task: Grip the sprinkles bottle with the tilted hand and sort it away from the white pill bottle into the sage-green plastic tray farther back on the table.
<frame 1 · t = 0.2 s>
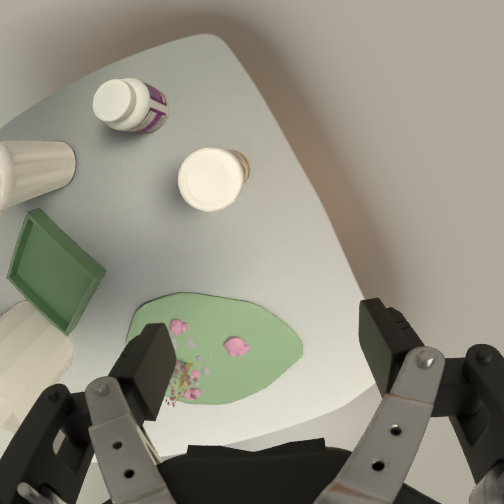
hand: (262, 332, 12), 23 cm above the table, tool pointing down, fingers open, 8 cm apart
container: (41, 335, 42), on the table
green tray: (55, 271, 37), on the table
plant: (209, 351, 40), on the table
cup: (60, 164, 33), on the table
pill bottle: (149, 111, 31), on the table
sprinkles bottle: (229, 169, 33), on the table
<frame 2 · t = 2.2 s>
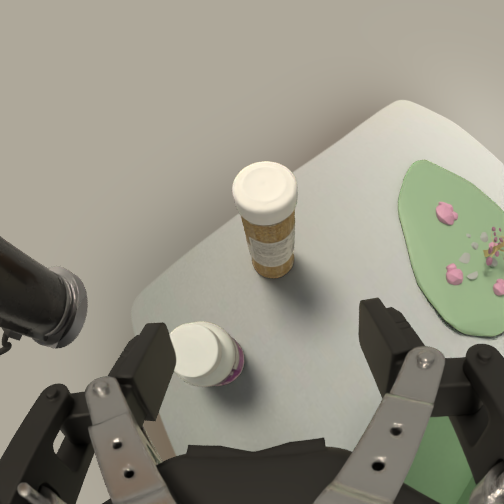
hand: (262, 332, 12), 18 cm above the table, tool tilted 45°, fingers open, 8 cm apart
green tray: (438, 458, 21), on the table
plant: (464, 243, 31), on the table
pill bottle: (219, 360, 29), on the table
sprinkles bottle: (273, 260, 32), on the table
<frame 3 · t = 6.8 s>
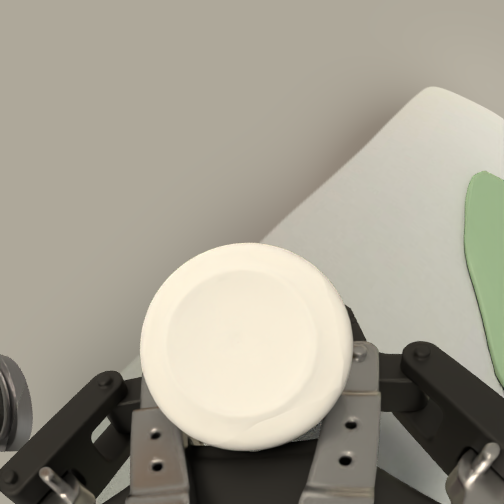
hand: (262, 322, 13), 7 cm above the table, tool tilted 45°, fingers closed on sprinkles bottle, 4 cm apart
sprinkles bottle: (276, 373, 18), on the table, touching gripper
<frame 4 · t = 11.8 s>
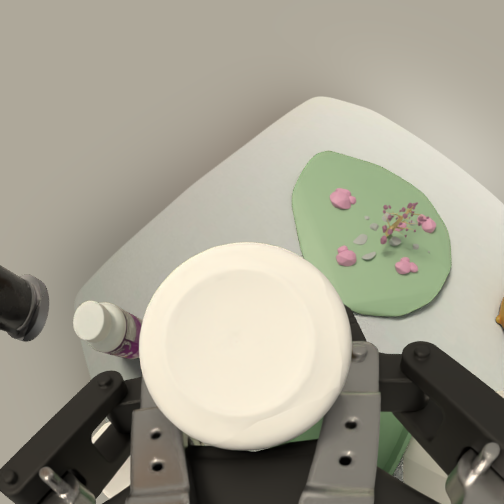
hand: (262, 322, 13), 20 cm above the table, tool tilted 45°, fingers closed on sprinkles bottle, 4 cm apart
container: (454, 450, 22), on the table
green tray: (340, 439, 26), on the table
plant: (366, 225, 36), on the table
cup: (195, 441, 28), on the table
pill bottle: (133, 338, 34), on the table
sprinkles bottle: (276, 373, 18), point 13 cm above the table, touching gripper
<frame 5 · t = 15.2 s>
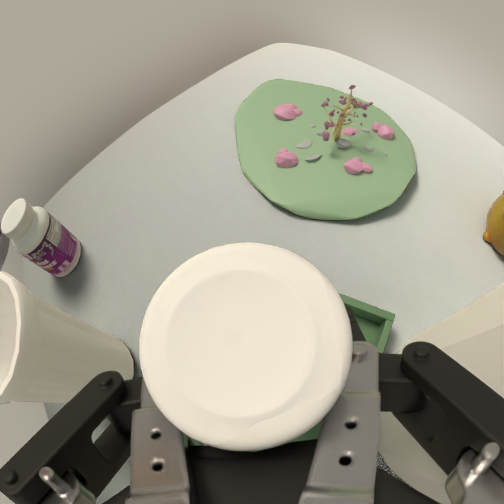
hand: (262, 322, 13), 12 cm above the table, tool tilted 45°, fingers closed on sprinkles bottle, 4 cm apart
container: (446, 405, 19), on the table
green tray: (279, 373, 22), on the table
plant: (314, 136, 33), on the table
cup: (109, 368, 24), on the table
pill bottle: (67, 258, 30), on the table
sprinkles bottle: (276, 373, 18), point 5 cm above the table, touching gripper
when the fingers open (7 cm above the table, at t = 16.9 s): sprinkles bottle stays where it is, resting on green tray.
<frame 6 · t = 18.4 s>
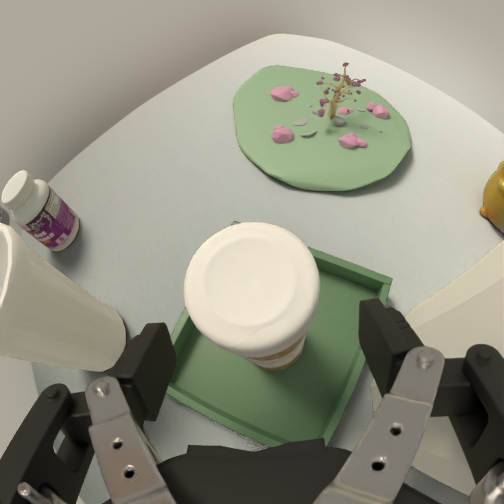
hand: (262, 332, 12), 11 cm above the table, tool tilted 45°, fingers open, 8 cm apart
container: (449, 383, 18), on the table, touching gripper, hand
green tray: (274, 341, 22), on the table
plant: (311, 116, 33), on the table
cup: (101, 339, 24), on the table
pill bottle: (65, 233, 30), on the table
sprinkles bottle: (274, 342, 22), point 1 cm above the table, touching green tray
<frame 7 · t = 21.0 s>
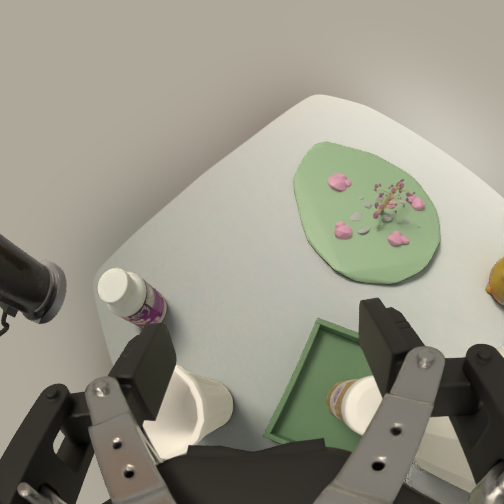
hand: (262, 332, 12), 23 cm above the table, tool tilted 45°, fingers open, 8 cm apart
container: (452, 418, 26), on the table
green tray: (344, 398, 30), on the table
plant: (361, 205, 40), on the table
cup: (208, 404, 32), on the table
pill bottle: (150, 310, 38), on the table
sprinkles bottle: (345, 399, 29), point 1 cm above the table, touching green tray
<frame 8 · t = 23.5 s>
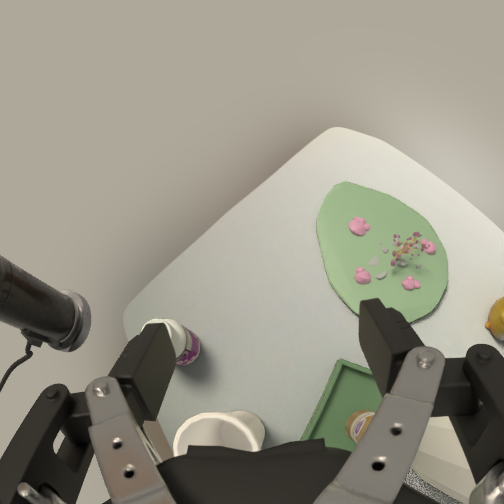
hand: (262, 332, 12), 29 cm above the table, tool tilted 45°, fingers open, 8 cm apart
container: (450, 438, 29), on the table
green tray: (360, 424, 33), on the table
plant: (378, 248, 43), on the table
cup: (241, 432, 34), on the table
pill bottle: (184, 347, 41), on the table
sprinkles bottle: (361, 425, 32), point 1 cm above the table, touching green tray
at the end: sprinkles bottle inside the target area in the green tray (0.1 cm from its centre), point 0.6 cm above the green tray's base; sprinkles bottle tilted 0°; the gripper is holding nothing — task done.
